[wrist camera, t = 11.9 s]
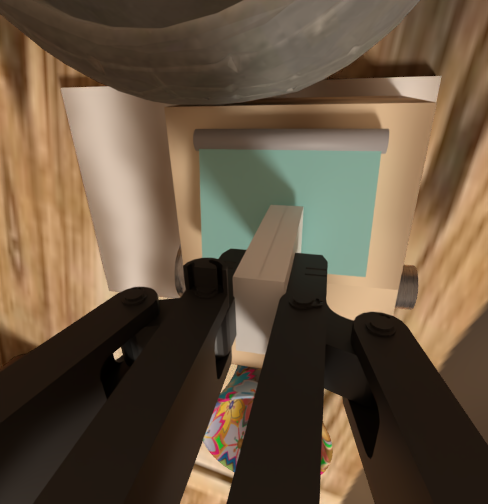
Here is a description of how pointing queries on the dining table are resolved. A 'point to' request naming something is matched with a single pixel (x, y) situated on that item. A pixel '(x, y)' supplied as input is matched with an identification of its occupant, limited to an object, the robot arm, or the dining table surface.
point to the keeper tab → (291, 188)
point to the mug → (242, 420)
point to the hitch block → (188, 177)
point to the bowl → (206, 43)
